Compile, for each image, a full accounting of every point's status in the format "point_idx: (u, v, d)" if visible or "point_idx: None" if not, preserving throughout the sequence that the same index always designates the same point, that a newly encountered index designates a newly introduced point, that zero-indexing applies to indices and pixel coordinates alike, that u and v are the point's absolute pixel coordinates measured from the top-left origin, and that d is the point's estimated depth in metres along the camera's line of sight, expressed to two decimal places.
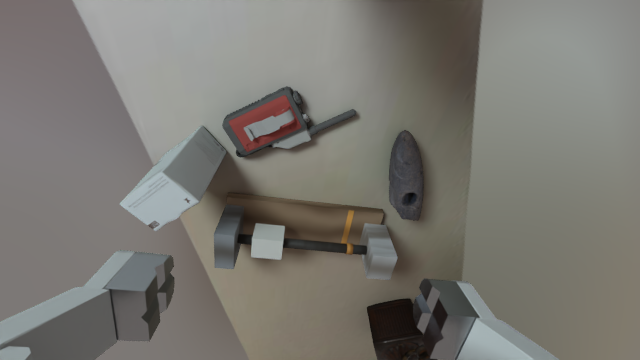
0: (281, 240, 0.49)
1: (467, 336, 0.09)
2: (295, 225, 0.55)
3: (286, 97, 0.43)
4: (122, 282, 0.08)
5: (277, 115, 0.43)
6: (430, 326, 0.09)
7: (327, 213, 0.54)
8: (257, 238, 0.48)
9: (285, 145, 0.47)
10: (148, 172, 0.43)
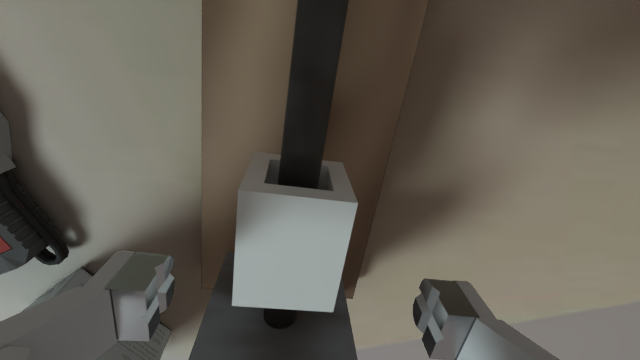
0: None
1: (467, 336, 0.09)
2: None
3: None
4: (121, 282, 0.08)
5: None
6: (430, 326, 0.09)
7: None
8: None
9: None
10: None
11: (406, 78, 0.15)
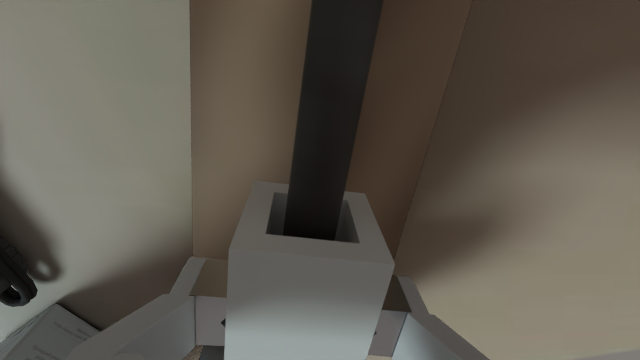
0: None
1: (401, 332, 0.08)
2: None
3: None
4: (203, 289, 0.08)
5: None
6: None
7: None
8: None
9: None
10: None
11: (442, 87, 0.12)
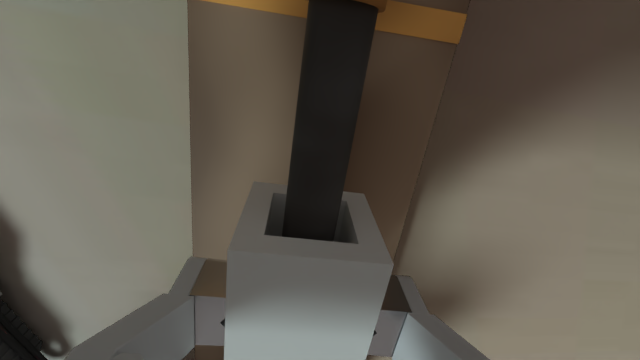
0: None
1: (401, 332, 0.08)
2: None
3: None
4: (203, 288, 0.08)
5: None
6: None
7: (220, 109, 0.12)
8: None
9: None
10: None
11: (406, 205, 0.14)
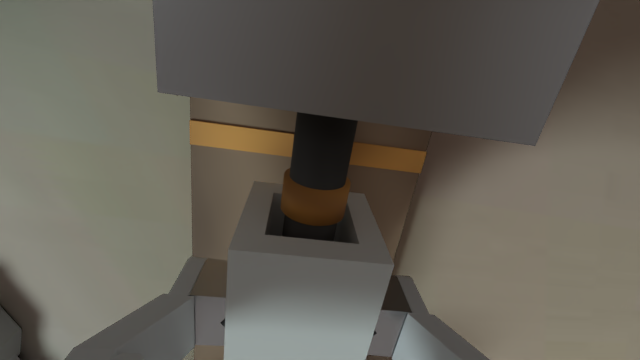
0: None
1: (401, 332, 0.08)
2: None
3: None
4: (203, 288, 0.08)
5: None
6: None
7: (218, 222, 0.14)
8: None
9: None
10: None
11: None
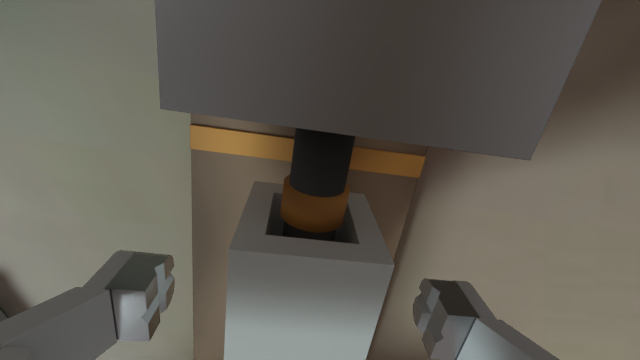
0: None
1: (467, 336, 0.09)
2: None
3: None
4: (121, 282, 0.08)
5: None
6: (430, 326, 0.09)
7: (218, 226, 0.14)
8: None
9: None
10: None
11: None
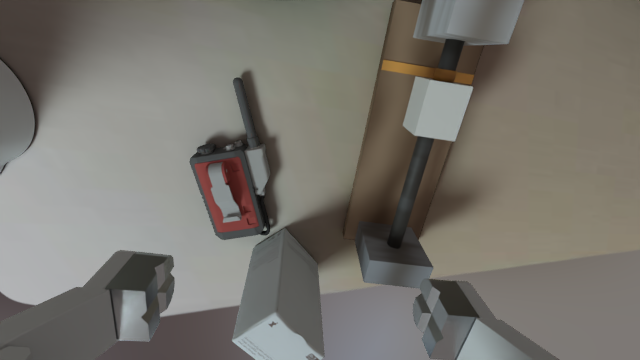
0: (428, 83, 0.26)
1: (467, 336, 0.09)
2: (400, 156, 0.36)
3: (196, 163, 0.35)
4: (121, 282, 0.08)
5: (210, 183, 0.34)
6: (430, 326, 0.09)
7: (383, 106, 0.33)
8: (416, 126, 0.28)
9: (262, 181, 0.36)
10: None
11: (448, 146, 0.35)
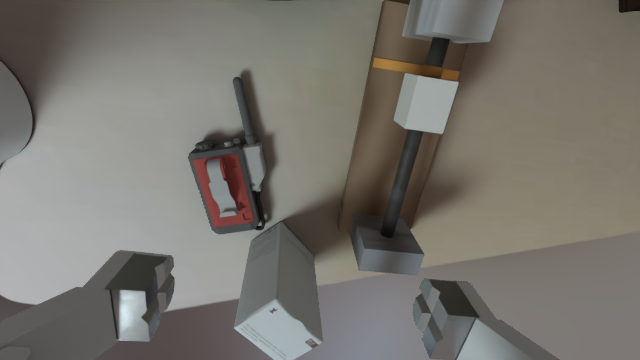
0: (417, 79, 0.28)
1: (467, 337, 0.09)
2: (392, 149, 0.37)
3: (195, 159, 0.36)
4: (121, 282, 0.08)
5: (209, 178, 0.35)
6: (430, 326, 0.09)
7: (375, 102, 0.35)
8: (406, 119, 0.30)
9: (258, 177, 0.38)
10: None
11: (437, 139, 0.37)
